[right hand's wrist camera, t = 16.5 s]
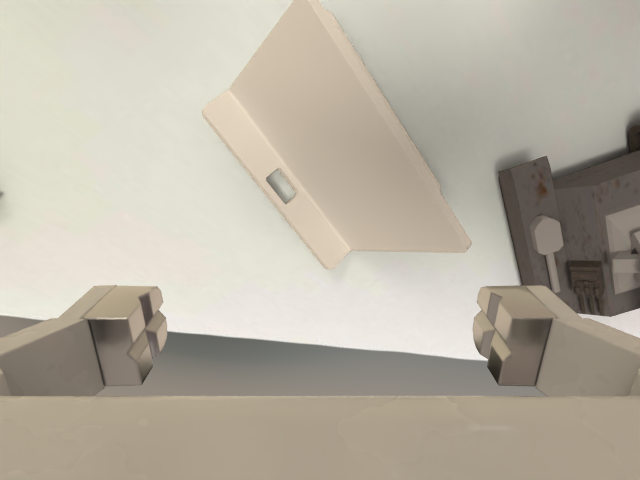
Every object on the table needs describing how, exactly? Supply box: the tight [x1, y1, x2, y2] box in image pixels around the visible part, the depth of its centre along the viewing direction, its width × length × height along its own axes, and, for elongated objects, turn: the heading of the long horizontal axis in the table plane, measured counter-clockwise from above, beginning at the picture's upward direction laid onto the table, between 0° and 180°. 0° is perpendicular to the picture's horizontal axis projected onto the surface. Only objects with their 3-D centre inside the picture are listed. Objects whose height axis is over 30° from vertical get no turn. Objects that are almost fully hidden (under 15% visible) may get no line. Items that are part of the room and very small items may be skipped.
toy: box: [499, 124, 640, 317], centre depth 45 cm, size 25×20×15 cm
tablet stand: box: [202, 0, 472, 269], centre depth 41 cm, size 18×25×17 cm
